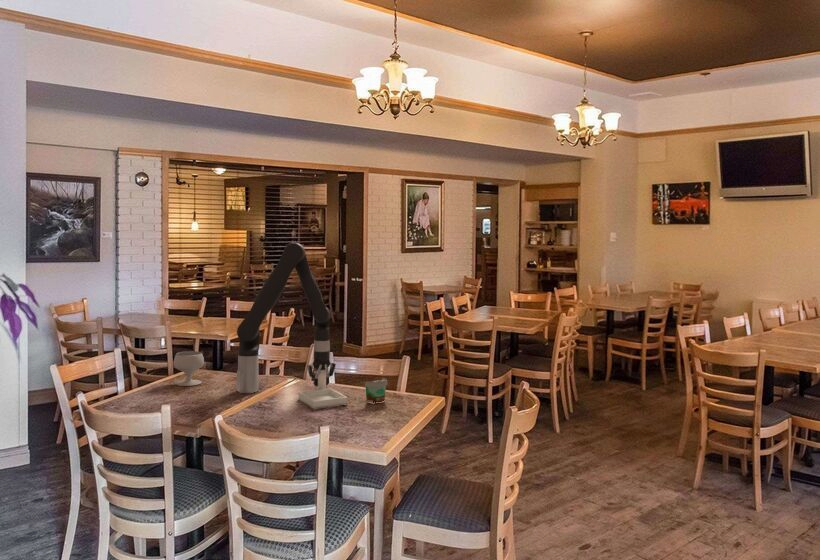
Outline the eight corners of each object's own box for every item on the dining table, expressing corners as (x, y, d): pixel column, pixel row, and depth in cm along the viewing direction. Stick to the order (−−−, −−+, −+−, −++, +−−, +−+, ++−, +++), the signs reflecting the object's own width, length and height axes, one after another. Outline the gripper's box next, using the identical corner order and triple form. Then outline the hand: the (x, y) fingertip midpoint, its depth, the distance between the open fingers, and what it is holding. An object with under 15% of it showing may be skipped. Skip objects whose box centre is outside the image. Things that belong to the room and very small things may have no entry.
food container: (375, 406, 278) (375, 383, 277) (364, 404, 282) (364, 381, 281) (392, 401, 288) (393, 379, 287) (382, 398, 291) (382, 376, 291)
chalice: (199, 379, 322) (199, 349, 321) (207, 385, 311) (207, 354, 309) (170, 382, 314) (170, 352, 313) (178, 388, 303) (177, 357, 302)
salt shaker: (318, 392, 299) (318, 370, 298) (314, 389, 303) (315, 368, 302) (327, 391, 301) (327, 369, 300) (323, 388, 305) (324, 368, 304)
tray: (314, 409, 271) (314, 401, 271) (298, 399, 286) (298, 392, 286) (347, 405, 279) (347, 397, 279) (331, 396, 294) (331, 388, 294)
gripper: (332, 347, 307) (331, 382, 308) (304, 349, 300) (303, 385, 301) (339, 349, 301) (338, 385, 302) (310, 352, 293) (309, 388, 295)
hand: (321, 385), depth 302 cm, fingers closed on salt shaker, 4 cm apart
